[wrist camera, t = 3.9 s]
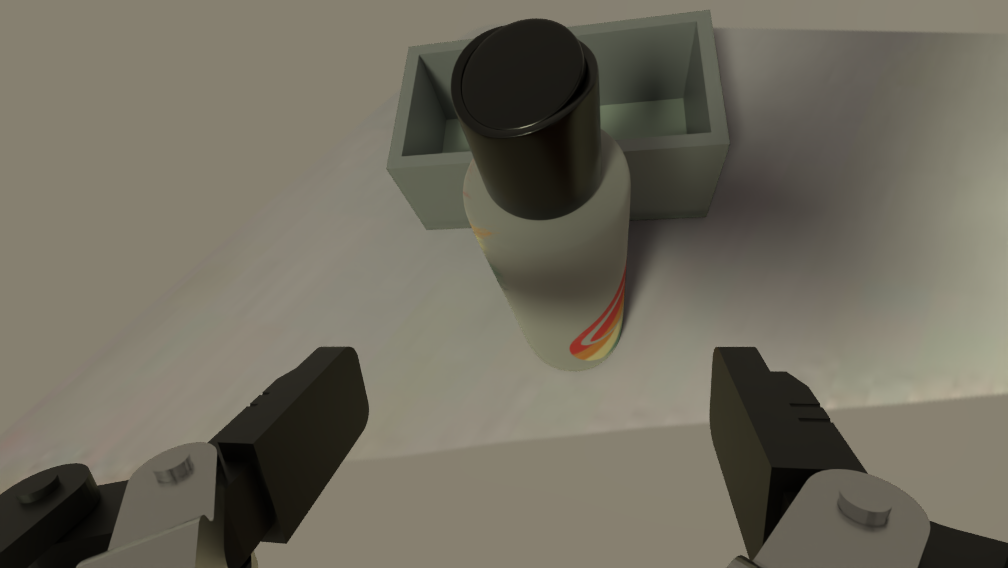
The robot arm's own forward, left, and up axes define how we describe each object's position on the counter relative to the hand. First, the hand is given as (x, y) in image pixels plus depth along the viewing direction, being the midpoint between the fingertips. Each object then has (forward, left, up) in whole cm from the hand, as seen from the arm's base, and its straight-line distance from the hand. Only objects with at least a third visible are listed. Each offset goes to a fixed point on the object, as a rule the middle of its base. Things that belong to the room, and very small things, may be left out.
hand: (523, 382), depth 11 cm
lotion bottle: (0, -7, -18) cm, 19 cm away
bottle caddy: (+1, -19, -18) cm, 26 cm away
